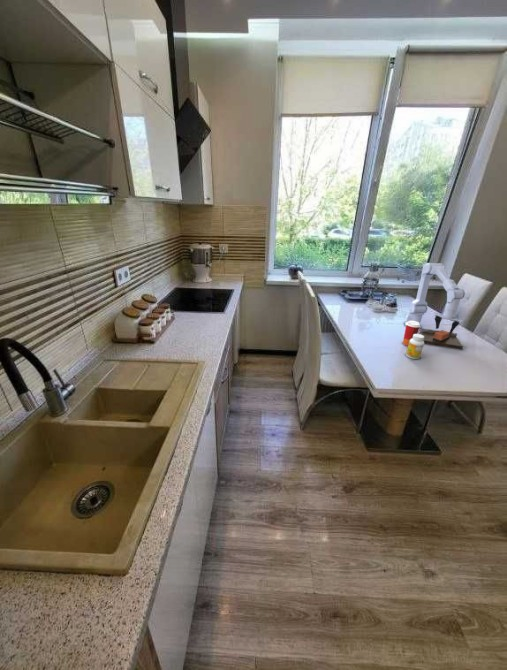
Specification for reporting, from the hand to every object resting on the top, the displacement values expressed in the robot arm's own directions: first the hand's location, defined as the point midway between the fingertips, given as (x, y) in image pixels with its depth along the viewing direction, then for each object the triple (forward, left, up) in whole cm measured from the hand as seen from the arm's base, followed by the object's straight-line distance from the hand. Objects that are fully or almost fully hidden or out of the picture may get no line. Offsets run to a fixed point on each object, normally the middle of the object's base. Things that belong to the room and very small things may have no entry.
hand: (443, 330), depth 167 cm
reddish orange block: (0, 0, -6) cm, 6 cm away
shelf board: (0, +1, -8) cm, 8 cm away
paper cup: (-19, -12, -8) cm, 24 cm away
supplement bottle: (-18, -28, -8) cm, 34 cm away
